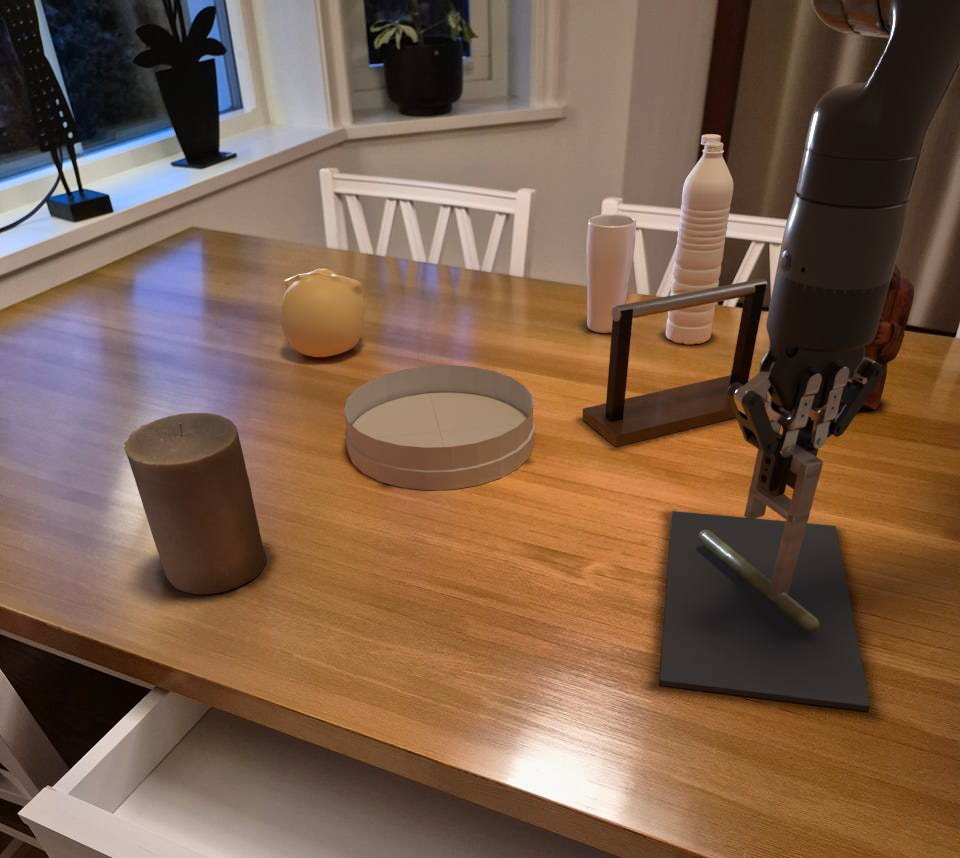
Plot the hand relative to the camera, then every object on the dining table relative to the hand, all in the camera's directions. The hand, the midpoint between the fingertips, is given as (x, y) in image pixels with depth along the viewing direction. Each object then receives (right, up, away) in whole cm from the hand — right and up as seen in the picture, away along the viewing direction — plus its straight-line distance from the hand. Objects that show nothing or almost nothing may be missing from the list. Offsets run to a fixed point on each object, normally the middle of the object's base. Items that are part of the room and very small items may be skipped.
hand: (782, 487), depth 70 cm
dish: (-29, +11, +32) cm, 45 cm away
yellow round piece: (-47, +30, +55) cm, 78 cm away
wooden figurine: (+20, +17, +38) cm, 46 cm away
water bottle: (+6, +32, +56) cm, 65 cm away
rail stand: (0, +15, +36) cm, 39 cm away
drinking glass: (-6, +34, +59) cm, 68 cm away
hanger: (0, -7, +6) cm, 10 cm away
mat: (0, -9, +7) cm, 12 cm away
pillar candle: (-50, -5, +13) cm, 52 cm away
